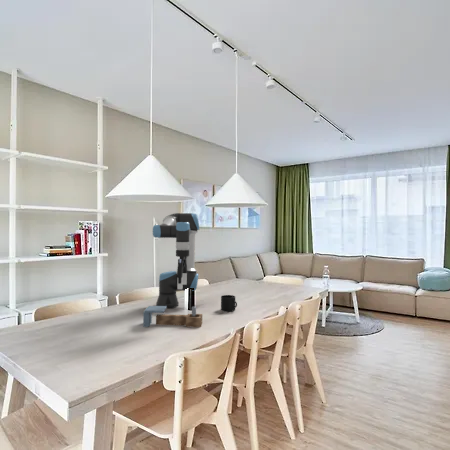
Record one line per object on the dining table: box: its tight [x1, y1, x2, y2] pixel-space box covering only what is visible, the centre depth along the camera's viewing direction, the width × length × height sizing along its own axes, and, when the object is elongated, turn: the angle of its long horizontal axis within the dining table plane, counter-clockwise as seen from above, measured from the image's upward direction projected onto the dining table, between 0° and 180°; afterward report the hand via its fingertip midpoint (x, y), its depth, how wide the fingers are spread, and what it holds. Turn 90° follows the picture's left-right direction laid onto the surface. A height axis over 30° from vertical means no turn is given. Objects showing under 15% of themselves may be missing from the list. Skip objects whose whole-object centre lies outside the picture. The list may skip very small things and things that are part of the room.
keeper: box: [142, 305, 168, 328], centre depth 184 cm, size 11×11×9 cm
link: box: [155, 313, 203, 328], centre depth 184 cm, size 25×8×5 cm, turn 89°
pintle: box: [191, 305, 197, 317], centre depth 184 cm, size 2×2×10 cm
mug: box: [220, 294, 238, 313], centre depth 217 cm, size 9×12×9 cm
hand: (182, 286), depth 188 cm, fingers open, 13 cm apart
